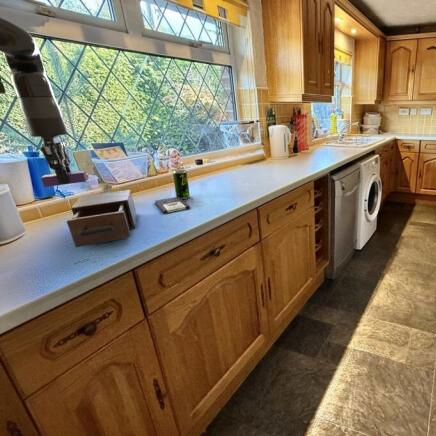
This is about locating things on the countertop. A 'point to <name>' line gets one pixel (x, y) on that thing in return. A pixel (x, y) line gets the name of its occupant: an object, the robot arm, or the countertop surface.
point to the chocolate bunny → (106, 188)
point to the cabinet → (108, 203)
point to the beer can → (181, 183)
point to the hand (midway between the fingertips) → (66, 181)
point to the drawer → (99, 224)
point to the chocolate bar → (171, 204)
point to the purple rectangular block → (73, 176)
